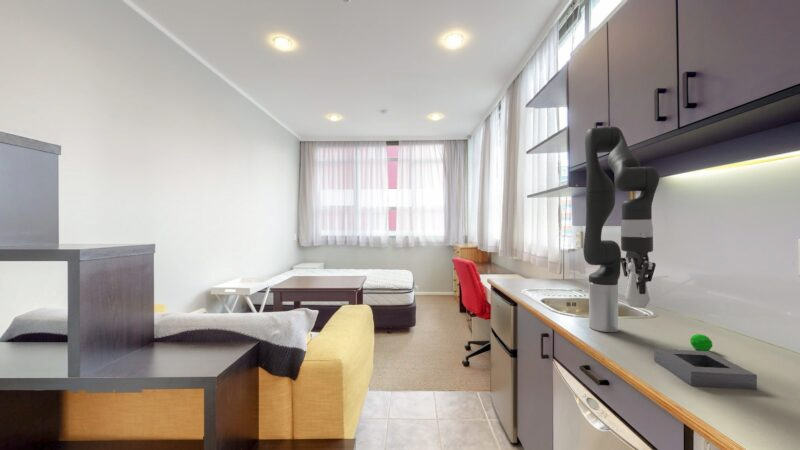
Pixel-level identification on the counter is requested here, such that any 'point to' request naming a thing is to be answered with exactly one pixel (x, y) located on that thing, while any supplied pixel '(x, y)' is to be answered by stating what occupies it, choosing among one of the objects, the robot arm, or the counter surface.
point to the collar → (705, 369)
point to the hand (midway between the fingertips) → (637, 293)
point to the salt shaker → (635, 291)
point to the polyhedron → (701, 342)
